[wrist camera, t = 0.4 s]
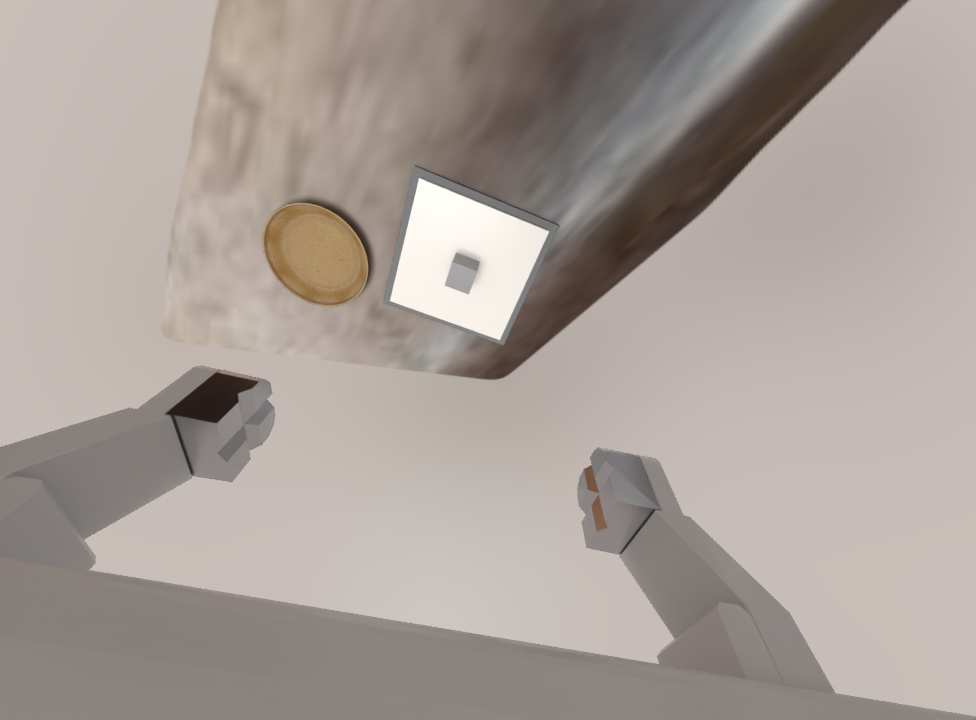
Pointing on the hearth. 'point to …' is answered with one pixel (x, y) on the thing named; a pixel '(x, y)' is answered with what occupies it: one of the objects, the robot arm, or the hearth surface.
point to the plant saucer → (315, 254)
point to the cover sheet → (472, 240)
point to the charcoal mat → (485, 200)
